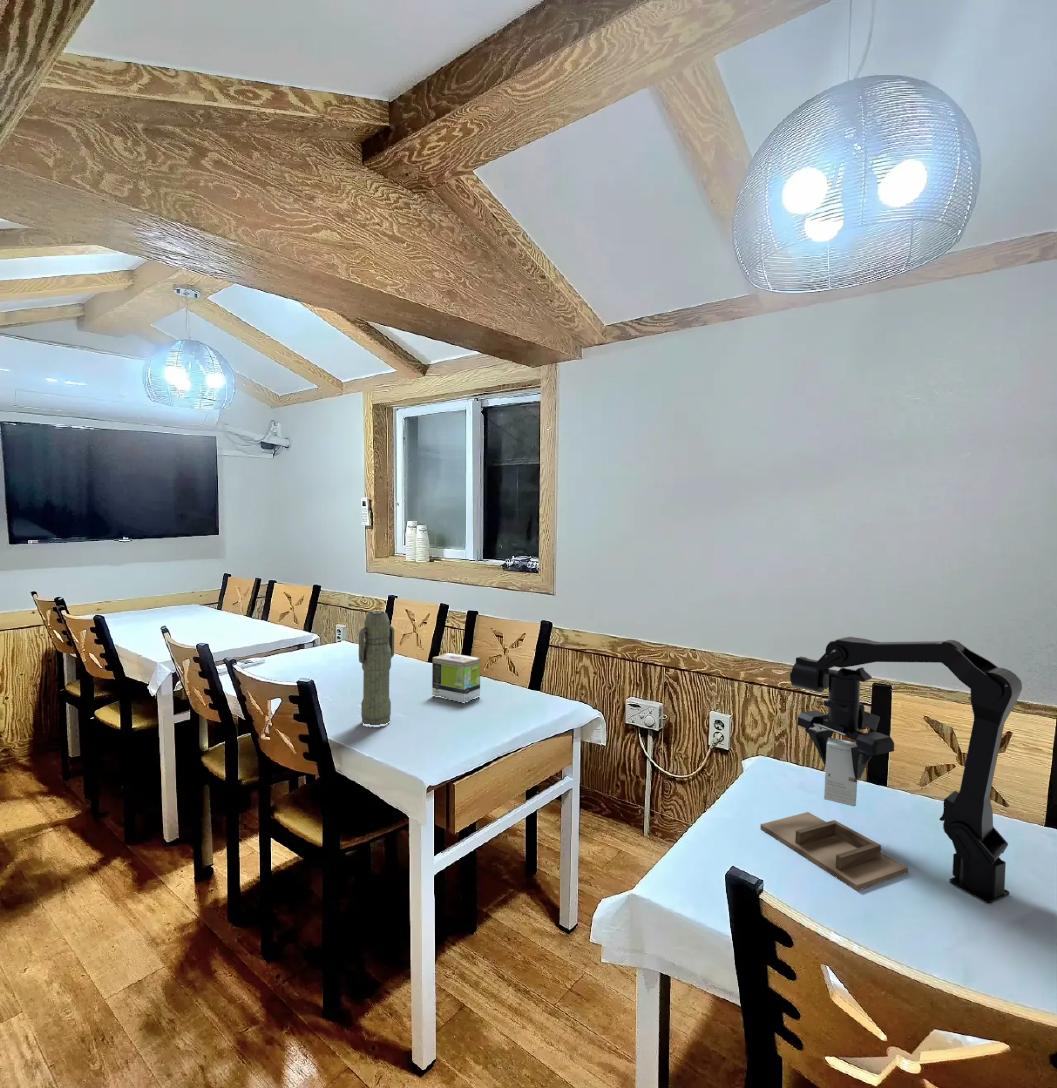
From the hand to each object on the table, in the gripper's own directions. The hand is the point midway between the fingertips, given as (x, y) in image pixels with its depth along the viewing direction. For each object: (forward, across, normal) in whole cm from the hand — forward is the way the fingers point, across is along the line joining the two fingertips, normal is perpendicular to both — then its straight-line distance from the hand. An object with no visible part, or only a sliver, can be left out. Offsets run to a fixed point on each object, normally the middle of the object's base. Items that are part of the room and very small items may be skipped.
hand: (841, 771), depth 121 cm
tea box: (+12, +116, +51) cm, 127 cm away
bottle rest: (+13, -4, +8) cm, 16 cm away
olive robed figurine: (+12, +98, +82) cm, 129 cm away
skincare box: (+6, 0, 0) cm, 6 cm away
